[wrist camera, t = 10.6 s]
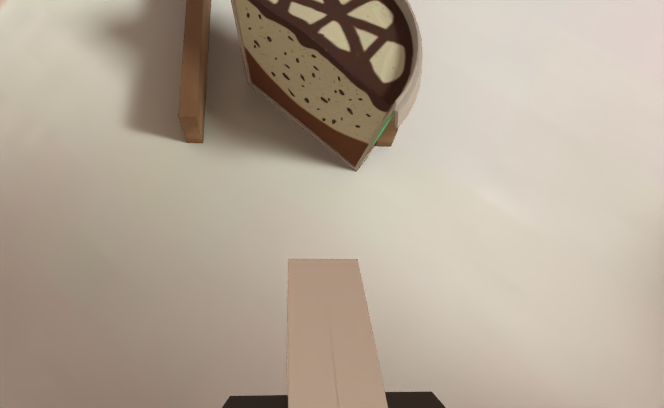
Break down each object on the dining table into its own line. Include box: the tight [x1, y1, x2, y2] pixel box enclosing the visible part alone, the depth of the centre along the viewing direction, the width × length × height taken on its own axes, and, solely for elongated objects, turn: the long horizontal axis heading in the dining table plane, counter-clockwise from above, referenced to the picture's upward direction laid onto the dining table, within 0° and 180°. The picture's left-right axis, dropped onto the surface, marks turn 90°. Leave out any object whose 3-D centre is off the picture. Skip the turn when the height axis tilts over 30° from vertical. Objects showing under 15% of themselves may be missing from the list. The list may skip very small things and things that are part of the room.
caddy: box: [178, 0, 399, 146], centre depth 40 cm, size 13×18×4 cm
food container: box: [231, 0, 422, 171], centre depth 36 cm, size 12×6×10 cm, turn 49°
